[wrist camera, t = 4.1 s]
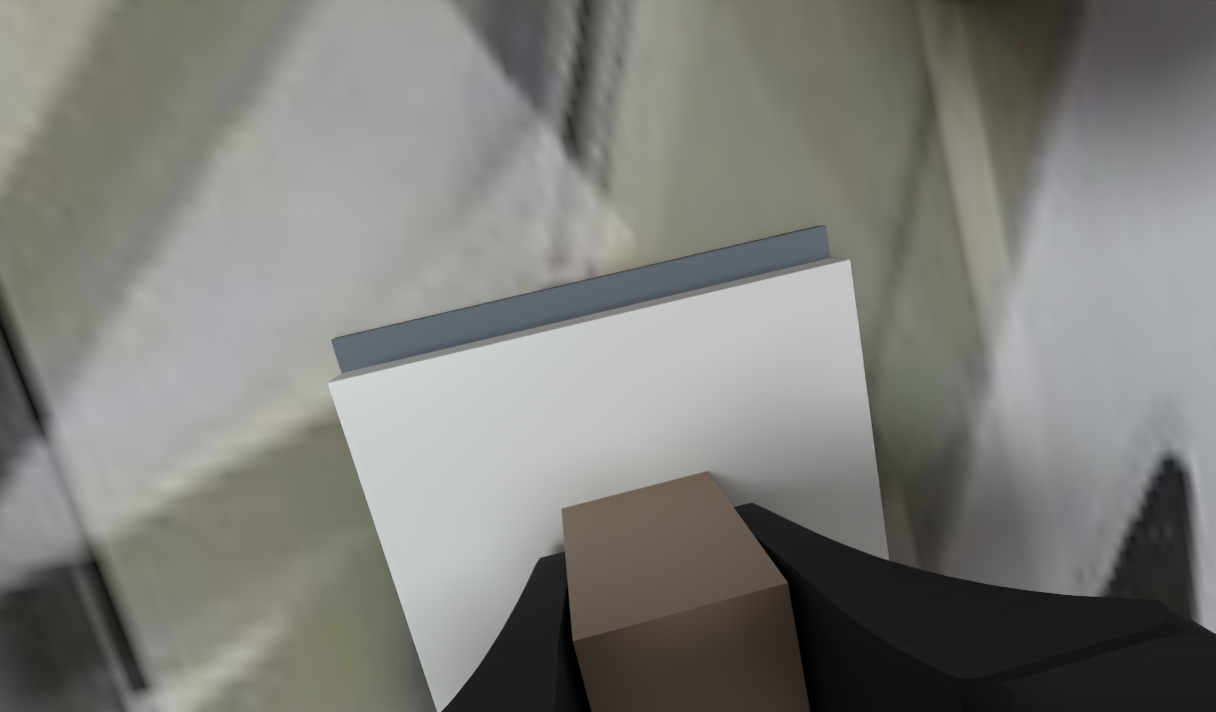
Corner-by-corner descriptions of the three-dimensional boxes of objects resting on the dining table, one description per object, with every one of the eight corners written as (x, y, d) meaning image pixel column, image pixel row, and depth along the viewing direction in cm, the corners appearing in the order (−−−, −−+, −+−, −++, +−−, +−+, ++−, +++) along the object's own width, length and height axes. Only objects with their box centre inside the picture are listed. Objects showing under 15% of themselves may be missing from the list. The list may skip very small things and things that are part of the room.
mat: (470, 751, 15) (469, 760, 15) (335, 337, 13) (331, 339, 13) (876, 638, 16) (883, 645, 16) (819, 225, 14) (825, 225, 13)
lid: (477, 786, 14) (445, 1066, 9) (341, 373, 12) (211, 465, 7) (886, 669, 15) (1052, 875, 10) (830, 257, 12) (1007, 271, 8)
